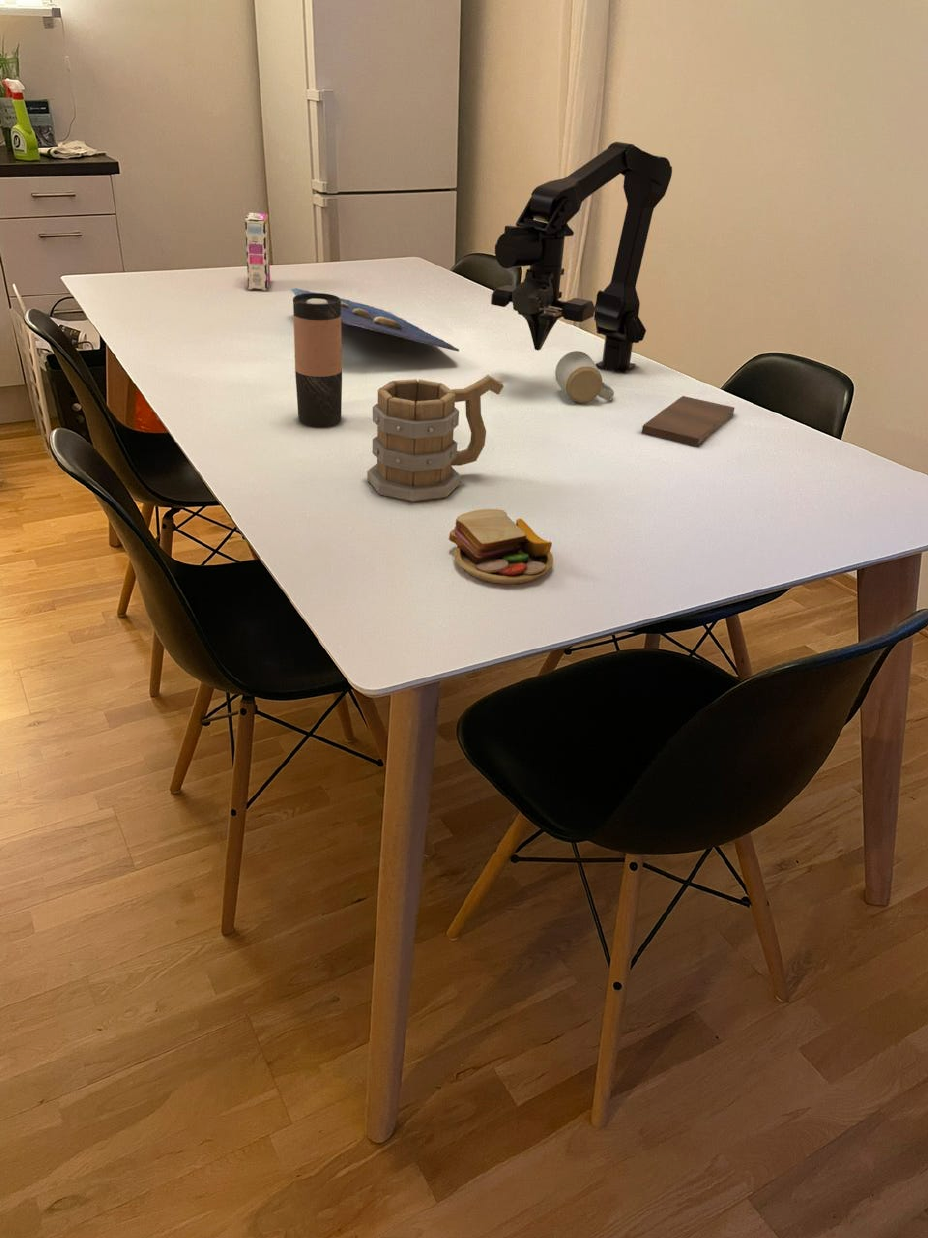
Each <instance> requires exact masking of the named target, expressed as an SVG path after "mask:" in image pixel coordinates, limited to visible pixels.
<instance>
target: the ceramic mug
mask: <svg viewBox="0 0 928 1238" xmlns="http://www.w3.org/2000/svg"><path fill="white" fill-rule="evenodd" d="M554 377H555V381H556V383H557V385H558V386H559V387H560V388H561V390H562V392H564V394H565V395H566V396H567V398H569V399H570V400H572V401H574V402H576V403H581V404H583V403H584V404H585V403H589V402H591V401H593V400H594V399H595V398H597V397H599V398H601V399H604V400H608V401H610V400H612V398H613V397H614V395H615V391H614V390H613V388H612V387H610V386H609V385H608V384H606V383H605V382H604V381H603V376H602V374H601V371H600V370H599V368H598V367H596V364H595V362H594V360H593V359H592V357H590V355H588V354H587V353H586V352H584V351H580V350H575V351H570V352H568V353H566V354H564V355H563V356H562V357H561V358H560V359H559V361H558V362H557V364H556V366H555V371H554Z"/></svg>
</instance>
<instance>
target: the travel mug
mask: <svg viewBox="0 0 928 1238" xmlns="http://www.w3.org/2000/svg"><path fill="white" fill-rule="evenodd" d="M340 298H341V297H339V296H338V295H335V294H329V293H322V292H314V293H306V294H300V295H296V296H295V295H294V296H293V297H292V311H293V312H292V313H293V342H294V343H293V344H294V345H293V346H294V349H293V350H294V374H295V375H294V377H295V389H296V390H295V391H296V403H297V416H298V417H297V418H298V422H299V423H300V424H301V425H304V426H306V427H309V428H319V429H320V428H331V427H335V426H337V425H339V424H340V423H341V422H342V402H343V401H342V400H343V399H342V398H343V343H342V341H343V340H342V339H343V337H342V336H343V335H342V321H341V300H340Z"/></svg>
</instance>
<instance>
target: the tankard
mask: <svg viewBox="0 0 928 1238" xmlns="http://www.w3.org/2000/svg"><path fill="white" fill-rule="evenodd" d="M504 387H505V385H504V383H502V382H501V381H499V380H497V379H495V378H494V377H492V376H490V375H486V376H484V377H483V378H481V379H478V381H476V382H474V383H473V384H470V385H468V386H466V387H464V388H452V389H451V388H449V387H448V386H447V385H446V384H443V383H442V382H436V381H431V380H424V379H416V378H415V379H414V378H413V379H402V380H400V379H399V380H392V381H389V382H387V383H386V384H384V385H383V386H381V387H379V388H378V389H377V403H376V404H374V405H373V406H372V422H373V423H374V424H375V425H376V427H377V428H376V430H377V431H376V432H377V433H376V436H375V437H374V438H372V455H374V456H375V458H376V464H374V465H373V466H372V467H371V468H369V469H368V470H367V471H366V472H367V475H366V476H367V478H366V479H367V481H368V482H369V483H370V484H371V486H372V487H373V488H374V489H375V490H376V492H377V494H379V495H380V496H384V497H390V498H393V499H398V500H403V501H406V502H411V503H415V502H422V501H430V500H437V499H446V498H447V497H448V496H449V495H450V494H452V492H453V491H454V490H455V489H456V488H458V486H460V484H461V477H462V476H461V474H460V473H459V472H458V471H457V470H456V469H455V468H454V467H456V466H457V467H458V466H464V465H468V464H470V463H473V462H474V463H475V462H477V460H478V458H479V456H480V455H481V453H482V451H483V450H484V448H485V446H486V437H487V430H486V429H487V428H486V426H485V423H484V420H483V416H482V398H481V397H482V396H484V395H486V393H488V392H489V391H490V392H492V393H493V394H496V395H500V393H501V392H502V390H503V388H504ZM460 402H465V403H464V405H465V407H464V408H465V418H466V420H467V425H468V428H469V431H470V440H469V444H468V445H467V447H466V448H464V449H462V450H458V443H457V442H456V441H455V440H454V429H455V428H457V427H458V426H459V424H460V423H459V422H460V410H459V409H457V407H456V403H460ZM453 466H454V467H453Z"/></svg>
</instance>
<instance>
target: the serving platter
mask: <svg viewBox="0 0 928 1238" xmlns="http://www.w3.org/2000/svg"><path fill="white" fill-rule="evenodd" d="M290 292H292V293H293V294H294V297H295V296H296V295H300V294H306V293H315V292H314V291H309V290H305V289H300V288H295V287H294V288H290ZM339 298H340V300H341V323H344V324H345V325H349V326H355V327H359V328H362V329H366V330H370V331H374V332H379V333H381V334H387V335H390V336H394V337H399V338H403V339H406V340H410V341H413V342H417V343H419V344H420V343H421V344H425V345H428V346H433V347H438V348H441V349H446V350H450V351H454V352H460V349H459V348H457V347H455V346H453V345H452V344H451V343H448V342H447V341H445V340H443V339H441V338H439V337H437V336H435V335H433V334H431V333H429V332H428V331H425V330H423V329H422V328H420V327H418V326H416V325H414V324H412V323H411V322H408V321H407V320H406V319H404V318H401V317H399V316H397V315H395V314H393V313H390V312H388V311H386V310H384V309H382V308H377V307H374V306H371V305H368V304H365V303H362V302H361V303H360V302H357V301H351V300H349V299H345V298H341V297H339Z"/></svg>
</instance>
